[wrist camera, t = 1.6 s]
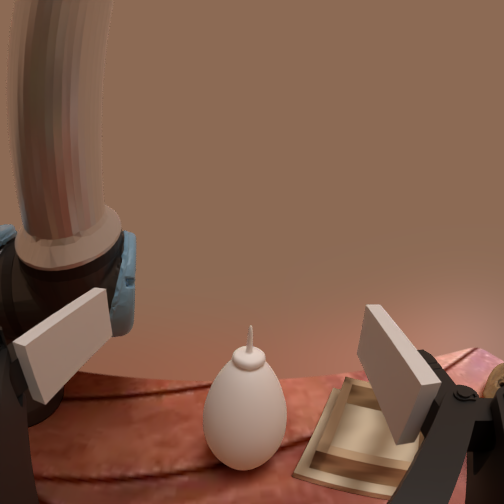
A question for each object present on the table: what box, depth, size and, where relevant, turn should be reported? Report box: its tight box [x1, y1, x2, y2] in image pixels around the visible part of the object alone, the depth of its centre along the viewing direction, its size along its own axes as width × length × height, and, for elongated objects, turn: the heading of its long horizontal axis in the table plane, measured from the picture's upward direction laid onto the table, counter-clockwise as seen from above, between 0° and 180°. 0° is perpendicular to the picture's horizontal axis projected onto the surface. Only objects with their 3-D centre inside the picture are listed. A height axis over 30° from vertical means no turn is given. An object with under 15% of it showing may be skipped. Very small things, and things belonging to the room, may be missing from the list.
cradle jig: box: [292, 377, 424, 500], centre depth 28 cm, size 16×16×4 cm
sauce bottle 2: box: [203, 326, 287, 470], centre depth 25 cm, size 8×8×18 cm
